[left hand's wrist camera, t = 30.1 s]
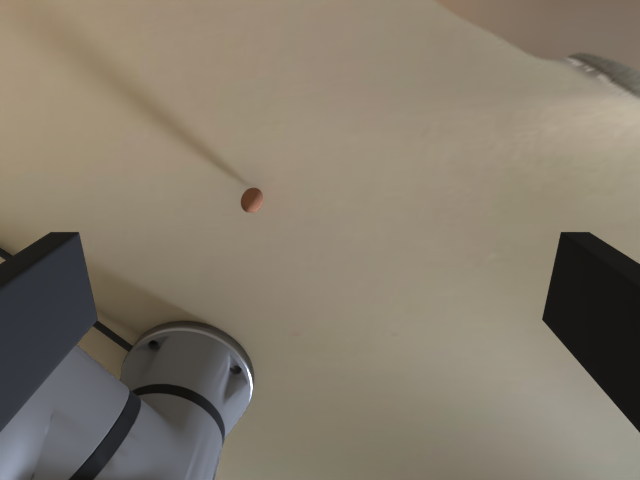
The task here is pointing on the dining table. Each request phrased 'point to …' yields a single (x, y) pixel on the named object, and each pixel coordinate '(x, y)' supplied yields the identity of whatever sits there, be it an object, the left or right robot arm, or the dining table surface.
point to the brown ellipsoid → (252, 200)
